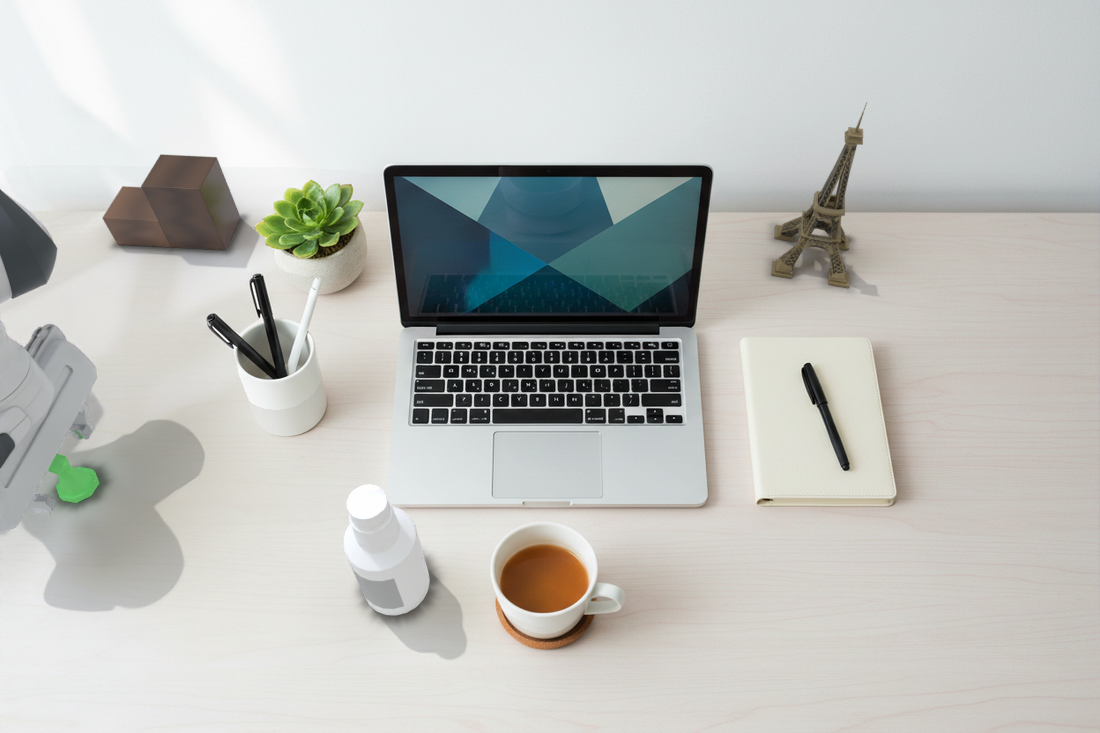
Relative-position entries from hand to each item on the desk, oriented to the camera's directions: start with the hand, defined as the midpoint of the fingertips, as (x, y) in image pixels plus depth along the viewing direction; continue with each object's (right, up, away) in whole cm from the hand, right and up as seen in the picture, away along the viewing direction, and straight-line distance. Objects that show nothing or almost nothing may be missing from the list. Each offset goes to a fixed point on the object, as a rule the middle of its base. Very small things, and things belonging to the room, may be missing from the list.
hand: (67, 470), depth 85 cm
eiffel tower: (+90, +27, +27) cm, 98 cm away
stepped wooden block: (-2, +31, +29) cm, 43 cm away
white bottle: (+37, -12, -4) cm, 39 cm away
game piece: (0, -2, +3) cm, 4 cm away
